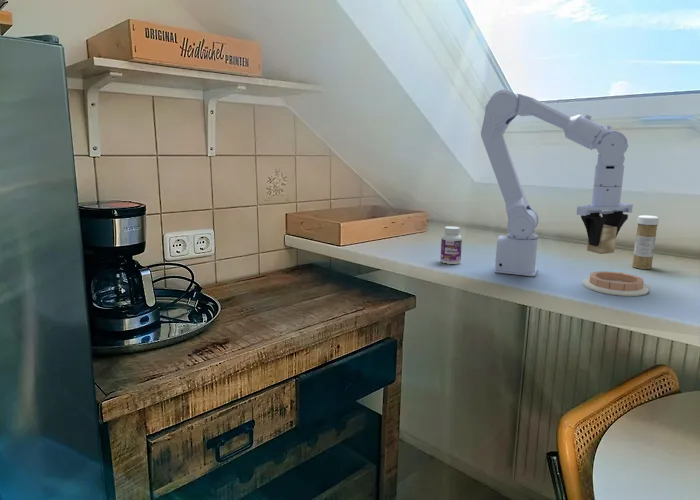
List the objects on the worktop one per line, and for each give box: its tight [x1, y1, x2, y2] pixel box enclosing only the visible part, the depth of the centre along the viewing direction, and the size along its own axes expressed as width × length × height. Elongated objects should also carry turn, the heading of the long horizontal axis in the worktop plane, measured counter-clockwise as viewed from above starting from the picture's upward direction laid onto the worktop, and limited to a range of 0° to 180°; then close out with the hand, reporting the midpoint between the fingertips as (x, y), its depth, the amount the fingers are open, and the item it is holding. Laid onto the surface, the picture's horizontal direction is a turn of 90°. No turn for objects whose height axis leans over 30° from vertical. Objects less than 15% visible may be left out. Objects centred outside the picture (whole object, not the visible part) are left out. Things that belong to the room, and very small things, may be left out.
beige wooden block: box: [586, 225, 617, 255], centre depth 113 cm, size 4×4×6 cm
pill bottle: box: [440, 225, 463, 265], centre depth 131 cm, size 5×5×10 cm
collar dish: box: [582, 270, 650, 297], centre depth 109 cm, size 13×13×2 cm
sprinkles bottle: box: [631, 214, 660, 270], centre depth 125 cm, size 5×5×14 cm
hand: (601, 244), depth 114 cm, fingers closed on beige wooden block, 4 cm apart
